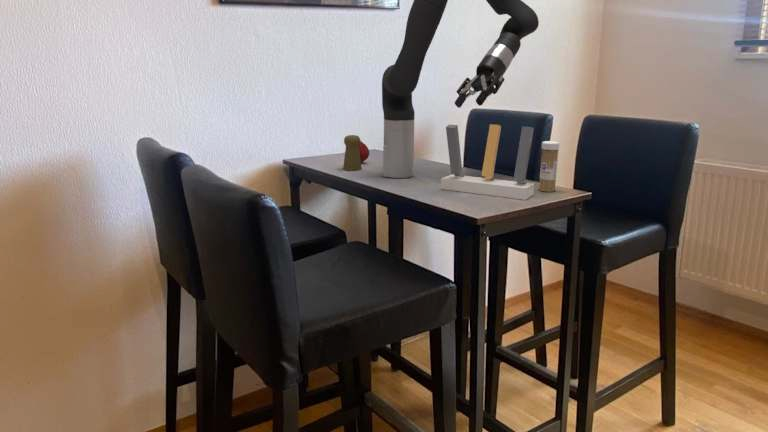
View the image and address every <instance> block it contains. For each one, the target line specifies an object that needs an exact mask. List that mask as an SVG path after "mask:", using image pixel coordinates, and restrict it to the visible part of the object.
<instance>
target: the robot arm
mask: <svg viewBox="0 0 768 432" xmlns="http://www.w3.org/2000/svg"><path fill="white" fill-rule="evenodd" d="M448 1H449V0H413V2H412V5H411V7H410V10H409V13H408V17H407V21H406V26H405V32H404V39H403V43H402V47H401V49H400V52H399V54H398V56H397V58H396V60H395V63H393V64H392V65H389V66H388V67H387V68H386V69H385V70H384V71H383V74H382V79H381V96H382V97H381V103H382V104H381V105H382V106H381V107H382V112H383V146H382V147H383V149H382V150H383V151H382V152H383V156H382V157H383V165H382V166H383V170H382V172H383V174H382V175H383V176H382V177H383V178H393V179H406V178H412V177H413V176H414V173H415V172H414V171H415V170H414V169H415V167H414V163H415V161H414V159H415V156H414V155H415V109H414V105H413V92H414V91H415V90H416V88H417V86H418V83H419V81H420V77H421V74H422V73H421V71H422V68H423V65H424V61H425V58H426V56H427V53H428V50H429V48H430V46H431V44H432V43H433V42H432V41H433V39H434V37H435V34H436V32H437V29H438V27H439V25H440V22H441V21H442V17H443V16H444V13H445V12H444V11H445V10H446V8H447V5H448ZM485 1H486V3H487V4H488V5H489V6H490V7H491V9H492V10H493V12H495V14H497V15H499V16H502V15H508V16H509V18H508V19H507V21H505V23H504V24H503V26H502V28H501V31H500V34H499V37H498V38H496V40H495V42H494V44H493V45H492V46H491V48H489V49H488V50H487V52H486V53H485V55H484V56H483V57H482V60H481V61H480V62H479V63H478V65H477V67H476V73H475V74H476V75H475V76H473V78H472V79H470V78H469V77H466V78H465V79H464V80H463V82H462V83H461V85H460V86H459V87H458V88H457V90H456V91H455V92H456V93H457V94H458V96H457V98H456V100H455V101H454V105H455V106H456V107H457V109H458V108H459V109H460V108H461V107H462V106H463V104H464V103H465V101H466V100H467V98H469V97H470V96H474V95H476V94H477V93H478V92H480V93H479V95H477V97H476V99H475V102H476V104H477V105H478V106H482V105H483V104H484V103H485V102H486V101H487V98H489V97H490V96H492V94H493V95H496V94H497V93H498V92H499V90H500V88H501V86H502V85H503V83H504V82H505V78H504V75H505V73H506V71H507V70H508V69H509V67H510V66H511V63H512V62H513V59H514V58H515V56H516V55H517V53H518V52H519V51H520V48H521V44H522V43H521V40H522V39H524V38H525V37H527V36H529V35H531V34H532V33H535V32H536V31H537V29H538V27H539V23H540V21H539V17H538V15H537V13H536V11H535V10H534V9H532V7H530V6H529V5H527V4H526V3H525V2H524V1H523V0H485ZM471 88H472V89H471Z"/></svg>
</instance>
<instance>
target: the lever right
mask: <svg viewBox="0 0 768 432" xmlns="http://www.w3.org/2000/svg"><path fill="white" fill-rule="evenodd" d="M534 129H535V128H534V127H532V126H523V125H522V126H521V131H520V138H519V143H518V144H519V145H518V150H517V157H516V163H515V166H514V167H515V168H514V175H513V180H515V181H516V182H517V183H518V184H522V183H523V182H526V179H527V172H528V166H529V160H530V156H531V155H530V153H531V147H532V144H533V143H532V142H533V135H534Z"/></svg>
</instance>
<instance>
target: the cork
mask: <svg viewBox="0 0 768 432" xmlns="http://www.w3.org/2000/svg"><path fill="white" fill-rule="evenodd" d="M360 140H361V138H360V136H359V135H355V134H350V135H349V134H348V135H346V136H344V140H343V144H344V145H345V152H344V159H343V165H342V167H343V168H342V170H344V171H347V172H356V171H357V172H358V171H362V169H363V168H362V163H361V160H360V153H359V144H360Z"/></svg>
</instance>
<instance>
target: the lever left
mask: <svg viewBox="0 0 768 432" xmlns="http://www.w3.org/2000/svg"><path fill="white" fill-rule="evenodd" d="M458 127H459V126H458V124H448V125H446V127H445V130H446V139H447V140H446V141H447V149H448V151H447V152H448V158H449V166H450V168H449V169H450V175H452V174H454V175H455V176H457V177H458V176H460V175H462V173H463V167H462V165H463V164H462V155H461V147H460V145H461V144H460V133H459V128H458Z"/></svg>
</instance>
